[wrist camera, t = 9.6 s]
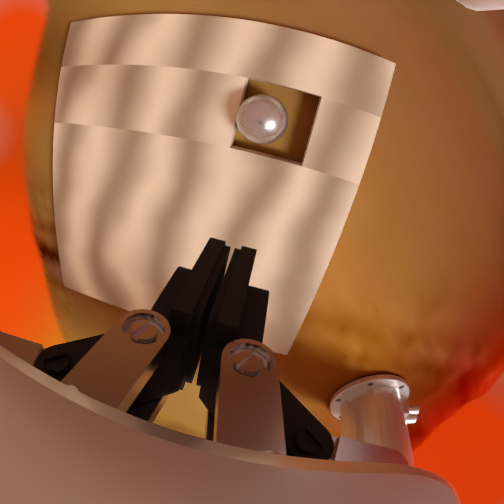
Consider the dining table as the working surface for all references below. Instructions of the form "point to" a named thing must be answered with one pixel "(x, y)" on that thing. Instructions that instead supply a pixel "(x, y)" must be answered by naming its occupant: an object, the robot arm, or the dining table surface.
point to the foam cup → (483, 4)
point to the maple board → (204, 156)
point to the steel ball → (262, 119)
